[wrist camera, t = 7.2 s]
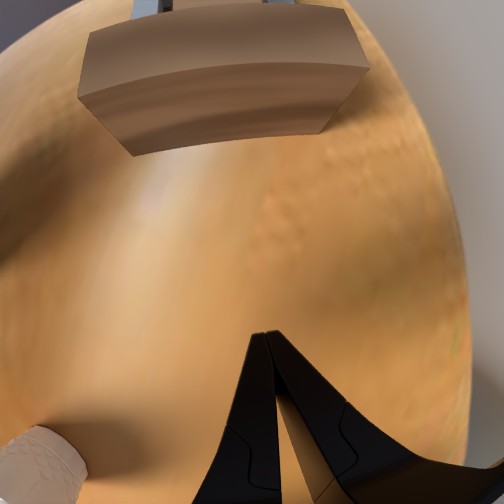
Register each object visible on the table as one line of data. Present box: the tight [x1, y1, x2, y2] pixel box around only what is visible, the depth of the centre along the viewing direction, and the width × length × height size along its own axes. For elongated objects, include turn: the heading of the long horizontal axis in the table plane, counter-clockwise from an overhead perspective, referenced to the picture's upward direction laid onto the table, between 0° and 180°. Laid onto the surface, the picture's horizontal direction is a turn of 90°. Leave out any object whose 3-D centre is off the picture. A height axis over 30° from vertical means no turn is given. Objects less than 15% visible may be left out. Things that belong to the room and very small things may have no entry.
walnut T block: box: [77, 0, 370, 157], centre depth 13 cm, size 12×12×8 cm
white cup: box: [0, 425, 88, 504], centre depth 11 cm, size 8×8×10 cm
